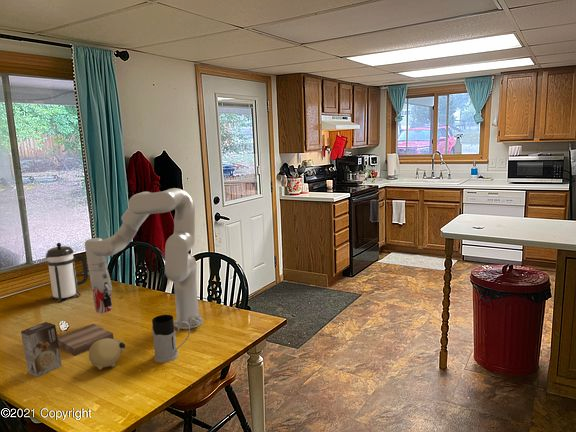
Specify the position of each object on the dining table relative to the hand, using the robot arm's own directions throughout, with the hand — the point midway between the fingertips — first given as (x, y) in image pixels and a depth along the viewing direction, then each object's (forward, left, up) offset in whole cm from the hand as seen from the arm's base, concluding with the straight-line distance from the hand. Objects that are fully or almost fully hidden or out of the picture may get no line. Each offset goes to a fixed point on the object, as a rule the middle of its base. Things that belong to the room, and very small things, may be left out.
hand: (103, 304), depth 189 cm
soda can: (0, 0, -4) cm, 4 cm away
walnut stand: (-10, +14, -9) cm, 20 cm away
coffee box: (-19, +33, -9) cm, 40 cm away
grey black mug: (-50, 0, -9) cm, 51 cm away
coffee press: (+52, -7, -9) cm, 53 cm away
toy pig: (-36, +18, -9) cm, 42 cm away
